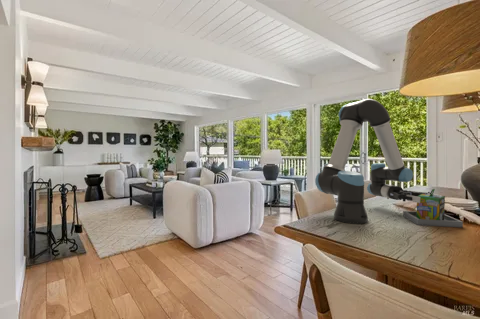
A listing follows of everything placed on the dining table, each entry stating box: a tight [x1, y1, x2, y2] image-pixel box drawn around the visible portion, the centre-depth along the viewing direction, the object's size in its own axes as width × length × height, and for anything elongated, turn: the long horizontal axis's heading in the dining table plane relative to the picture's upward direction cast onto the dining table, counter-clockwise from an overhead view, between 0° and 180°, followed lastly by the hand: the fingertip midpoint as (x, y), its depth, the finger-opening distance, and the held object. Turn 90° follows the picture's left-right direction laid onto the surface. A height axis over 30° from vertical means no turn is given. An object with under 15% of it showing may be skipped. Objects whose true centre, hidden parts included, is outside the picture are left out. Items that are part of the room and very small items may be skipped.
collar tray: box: [402, 210, 464, 228], centre depth 118 cm, size 17×17×2 cm
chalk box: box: [416, 188, 446, 220], centre depth 117 cm, size 9×9×15 cm
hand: (430, 199), depth 118 cm, fingers open, 13 cm apart
